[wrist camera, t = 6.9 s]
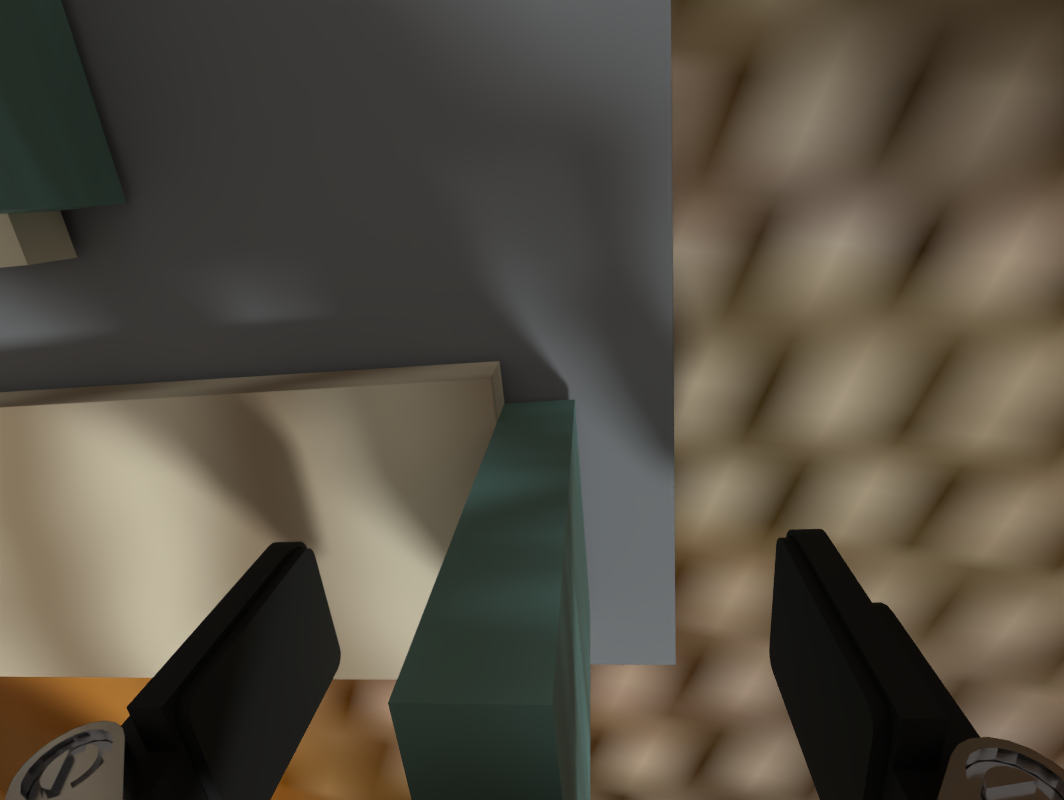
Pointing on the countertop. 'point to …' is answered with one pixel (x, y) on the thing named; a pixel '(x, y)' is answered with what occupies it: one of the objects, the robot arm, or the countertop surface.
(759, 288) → the countertop surface
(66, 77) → the broken strip
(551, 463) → the strip
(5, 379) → the mat
